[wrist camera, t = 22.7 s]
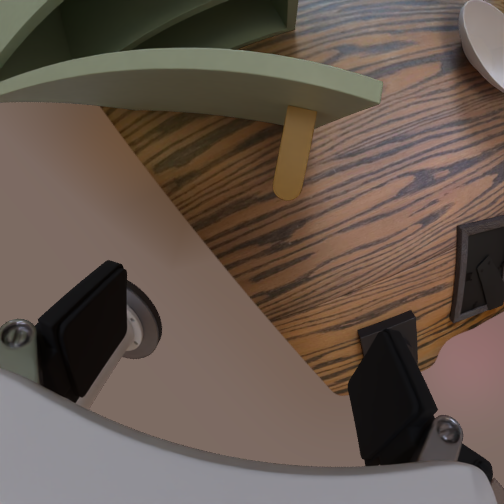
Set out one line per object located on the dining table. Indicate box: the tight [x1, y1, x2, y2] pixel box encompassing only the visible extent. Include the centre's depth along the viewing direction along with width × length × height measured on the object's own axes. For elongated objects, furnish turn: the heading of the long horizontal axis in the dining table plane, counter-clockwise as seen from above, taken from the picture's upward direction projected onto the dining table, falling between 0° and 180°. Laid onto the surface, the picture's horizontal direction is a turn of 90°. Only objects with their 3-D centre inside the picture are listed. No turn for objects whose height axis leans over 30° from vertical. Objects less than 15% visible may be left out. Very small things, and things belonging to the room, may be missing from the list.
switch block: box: [358, 310, 418, 364], centre depth 42 cm, size 12×10×4 cm
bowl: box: [458, 0, 504, 92], centre depth 20 cm, size 16×16×7 cm
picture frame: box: [450, 215, 504, 323], centre depth 36 cm, size 13×2×18 cm
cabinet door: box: [0, 48, 383, 201], centre depth 22 cm, size 7×24×26 cm, turn 80°
